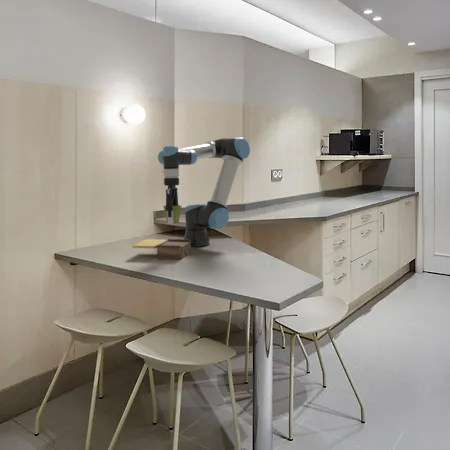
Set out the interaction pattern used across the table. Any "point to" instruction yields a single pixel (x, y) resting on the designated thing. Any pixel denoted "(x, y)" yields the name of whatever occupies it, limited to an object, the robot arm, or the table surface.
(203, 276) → the table surface
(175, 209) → the plant pot
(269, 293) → the table surface
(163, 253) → the brown cardboard box
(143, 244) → the pale yellow rectangular panel
